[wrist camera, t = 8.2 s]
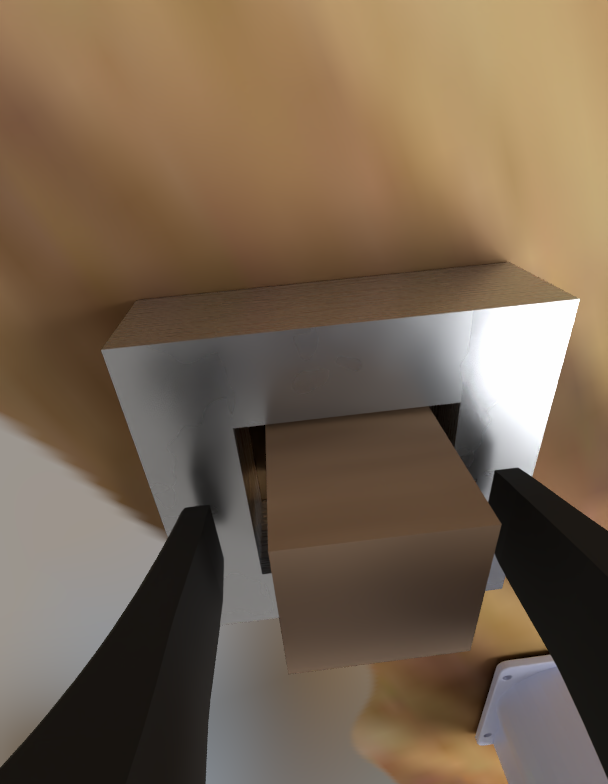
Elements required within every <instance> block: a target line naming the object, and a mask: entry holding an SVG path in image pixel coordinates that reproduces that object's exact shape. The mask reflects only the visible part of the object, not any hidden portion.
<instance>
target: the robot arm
mask: <svg viewBox="0 0 608 784" xmlns="http://www.w3.org/2000/svg"><path fill="white" fill-rule="evenodd" d="M488 503H489V505H490V506H491V508H492V510H493V511H494V513H495V514H496V516H497V518H498V519H499V521H500V523H501V524H502V525H501V529H500V533H499V537H498V541H497V545H496V549H495V553H494V554H495V556H496V558H497V561H498V563H499V565H500V567H501V569H502V570H503V572H504V574H505V576H506V578H507V579H508V581H509V583H510V585H511V586H512V588H513V590H514V592H515V594H516V595H517V597H518V599H519V600H520V602H521V604H522V606H523V607H524V609H525V611H526V613H527V614H528V616H529V618H530V620H531V621H532V623H533V625H534V627H535V628H536V630H537V632H538V634H539V635H540V637H541V639H542V641H543V642H544V644H545V646H546V647H547V649H548V651H549V653H550V655H543V656H536V657H528V658H521V659H514V660H507V661H503V662H501V663H499V664H498V665H497V667H496V670H495V674H494V677H493V680H492V683H491V687H490V690H489V693H488V696H487V700H486V703H485V706H484V710H483V713H482V716H481V719H480V723H479V726H478V729H477V732H476V736H475V738H476V741H477V744H479V745H489V744H494V747H495V750H496V752H497V755H498V757H499V760H500V763H501V765H502V768H503V770H504V773H505V776H506V778H507V781H508V783H509V784H608V531H607V530H606V529H604V528H603V527H601V526H600V525H598V524H597V523H596V522H594V521H593V520H591V519H590V518H588V517H587V516H586V515H584V514H583V513H581V512H580V511H579V510H577V509H576V508H574V507H573V506H571V505H570V504H569V503H567V502H566V501H565V500H563V499H562V498H560V497H559V496H558V495H556V494H555V493H553V492H552V491H551V490H549V489H548V488H547V487H545V486H544V485H542V484H541V483H540V482H538V481H537V480H536V479H534V478H533V477H531V476H530V475H529V474H527V473H526V472H524V471H523V470H521V469H520V468H518V467H517V468H509V469H501V470H495V471H494V476H493V481H492V486H491V491H490V495H489V500H488ZM223 587H224V557H223V553H222V549H221V545H220V542H219V538H218V534H217V530H216V527H215V523H214V519H213V515H212V512H211V508H210V505H202V506H194V507H186V508H184V509H183V510H182V511H181V513H180V515H179V517H178V519H177V521H176V523H175V525H174V527H173V529H172V531H171V533H170V535H169V537H168V539H167V540H166V542H165V544H164V546H163V548H162V550H161V551H160V553H159V555H158V557H157V559H156V560H155V562H154V564H153V565H152V567H151V569H150V570H149V572H148V574H147V575H146V577H145V579H144V581H143V582H142V584H141V586H140V587H139V589H138V591H137V592H136V594H135V595H134V597H133V599H132V600H131V602H130V603H129V604H128V606H127V608H126V609H125V611H124V612H123V614H122V615H121V617H120V618H119V620H118V621H117V623H116V624H115V626H114V627H113V629H112V630H111V632H110V633H109V635H108V636H107V637H106V639H105V640H104V642H103V643H102V645H101V646H100V647H99V649H98V650H97V651H96V653H95V654H94V656H93V657H92V658H91V660H90V661H89V662H88V664H87V665H86V666H85V667H84V669H83V670H82V672H81V673H80V674H79V675H78V677H77V678H76V679H75V681H74V682H73V683H72V684H71V686H70V687H69V688H68V689H67V690H66V692H65V693H64V694H63V696H62V697H61V698H60V699H59V701H58V702H57V703H56V704H55V706H54V707H53V708H52V709H51V710H50V712H49V713H48V714H47V715H46V716H45V718H44V719H43V720H42V721H41V722H40V724H39V725H38V726H37V727H36V728H35V729H34V731H33V732H32V733H31V734H30V735H29V736H28V738H27V739H26V740H25V741H24V742H23V743H22V745H20V746H19V748H18V749H17V750H16V751H15V752H14V753H13V755H11V756H10V758H9V759H8V760H7V761H6V762H5V763H4V764H3V765H2V766H1V767H0V784H205V781H206V759H207V758H206V757H207V737H208V736H207V735H208V719H209V709H210V698H211V690H212V683H213V675H214V668H215V660H216V652H217V644H218V637H219V629H220V621H221V613H222V605H223Z"/></svg>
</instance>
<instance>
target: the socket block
mask: <svg viewBox="0 0 608 784" xmlns="http://www.w3.org/2000/svg"><path fill="white" fill-rule="evenodd" d="M579 300H580V299H579V298H577V297H575V296H573V295H571V294H569V293H567V292H565V291H564V290H562V289H560V288H558V287H556V286H554V285H552V284H550V283H548V282H546V281H544V280H543V279H541V278H539V277H537V276H535V275H533V274H531V273H529V272H527V271H525V270H524V269H522V268H520V267H518V266H516V265H514V264H512V263H510V262H506V263H496V264H486V265H476V266H467V267H457V268H447V269H437V270H427V271H418V272H408V273H398V274H388V275H379V276H369V277H359V278H349V279H339V280H330V281H320V282H310V283H300V284H290V285H281V286H271V287H261V288H251V289H242V290H232V291H222V292H212V293H202V294H193V295H183V296H173V297H163V298H153V299H144V300H136V302H135V303H134V305H133V306H132V307H131V309H130V310H129V312H128V313H127V314H126V316H125V317H124V319H123V320H122V321H121V323H120V324H119V325H118V327H117V328H116V330H115V331H114V332H113V334H112V335H111V337H110V338H109V339H108V341H107V342H106V344H105V345H104V346H103V348H102V349H101V351H102V354H103V357H104V360H105V363H106V365H107V368H108V371H109V374H110V377H111V379H112V382H113V385H114V388H115V391H116V393H117V396H118V399H119V402H120V405H121V407H122V410H123V413H124V416H125V419H126V421H127V424H128V427H129V430H130V433H131V435H132V438H133V441H134V444H135V447H136V449H137V452H138V455H139V458H140V461H141V463H142V466H143V469H144V472H145V475H146V477H147V480H148V483H149V486H150V489H151V492H152V494H153V497H154V500H155V503H156V506H157V508H158V511H159V514H160V517H161V520H162V522H163V525H164V528H165V531H166V534H167V536H168V537H169V535H170V533H171V531H172V529H173V527H174V525H175V523H176V521H177V519H178V517H179V515H180V513H181V511H182V510H183V509H184V508H186V507H194V506H202V505H210V508H211V512H212V515H213V519H214V523H215V527H216V530H217V534H218V538H219V542H220V545H221V549H222V553H223V557H224V587H223V605H222V613H221V621H220V625H228V624H235V623H243V622H251V621H258V620H266V619H273V618H279V615H278V608H277V602H276V596H275V590H274V584H273V578H272V572H271V566H270V560H269V554H268V523H267V500H264V501H262V500H261V495H260V489H259V484H258V478H257V472H256V467H255V461H254V455H253V450H252V444H251V438H250V433H249V427H250V426H258V425H267V424H276V423H285V422H293V421H302V420H311V419H320V418H328V417H337V416H346V415H355V414H363V413H372V412H381V411H390V410H399V409H407V408H416V407H425V406H429V408H430V409H431V411H432V413H433V414H434V416H435V417H436V419H437V421H438V422H439V424H440V426H441V427H442V429H443V430H444V432H445V434H446V435H447V437H448V438H449V440H450V442H451V443H452V445H453V447H454V448H455V450H456V451H457V453H458V455H459V456H460V458H461V459H462V461H463V463H464V464H465V466H466V468H467V469H468V471H469V472H470V474H471V476H472V477H473V479H474V480H475V482H476V484H477V485H478V487H479V489H480V490H481V492H482V493H483V495H484V497H485V498H486V500H487V502H488V500H489V495H490V491H491V486H492V481H493V476H494V471H495V470H501V469H509V468H517V467H518V468H520V469H521V470H523V471H524V472H526V473H527V474H529V475H530V476H531V477H532V475H533V471H534V467H535V464H536V460H537V456H538V453H539V449H540V445H541V441H542V438H543V434H544V430H545V427H546V423H547V419H548V415H549V412H550V408H551V404H552V401H553V397H554V393H555V389H556V386H557V382H558V378H559V375H560V371H561V367H562V364H563V360H564V356H565V352H566V349H567V345H568V341H569V338H570V334H571V330H572V326H573V323H574V319H575V315H576V312H577V308H578V304H579ZM504 579H505V574H504V572H503V570H502V569H501V567H500V565H499V563H498V561H497V558H496V556H495V554H494V557H493V561H492V565H491V569H490V573H489V577H488V581H487V585H486V589H485V591H487V590H495V589H502V586H503V583H504Z"/></svg>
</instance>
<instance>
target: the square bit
mask: <svg viewBox="0 0 608 784" xmlns="http://www.w3.org/2000/svg"><path fill="white" fill-rule="evenodd" d="M265 429H266V476H267V523H268V554H269V560H270V566H271V572H272V578H273V584H274V590H275V596H276V602H277V608H278V615H279V620H280V627H281V633H282V639H283V645H284V651H285V657H286V663H287V669H288V674H294V673H303V672H310V671H318V670H325V669H334V668H341V667H349V666H357V665H364V664H372V663H380V662H387V661H395V660H403V659H410V658H418V657H426V656H433V655H441V654H449V653H456V652H464V651H470V649H471V645H472V641H473V637H474V633H475V629H476V625H477V621H478V617H479V613H480V609H481V605H482V601H483V597H484V593H485V589H486V585H487V581H488V577H489V573H490V569H491V565H492V561H493V557H494V553H495V549H496V545H497V541H498V537H499V533H500V529H501V525H502V524H501V523H500V521H499V519H498V518H497V516H496V514H495V513H494V511H493V510H492V508H491V506H490V505H489V503H488V502H487V500H486V498H485V497H484V495H483V493H482V492H481V490H480V489H479V487H478V485H477V484H476V482H475V480H474V479H473V477H472V476H471V474H470V472H469V471H468V469H467V468H466V466H465V464H464V463H463V461H462V459H461V458H460V456H459V455H458V453H457V451H456V450H455V448H454V447H453V445H452V443H451V442H450V440H449V438H448V437H447V435H446V434H445V432H444V430H443V429H442V427H441V426H440V424H439V422H438V421H437V419H436V417H435V416H434V414H433V413H432V411H431V409H430V408H429V406H425V407H416V408H407V409H399V410H390V411H381V412H372V413H363V414H355V415H346V416H337V417H328V418H320V419H311V420H302V421H293V422H285V423H276V424H267V425H265Z"/></svg>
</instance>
